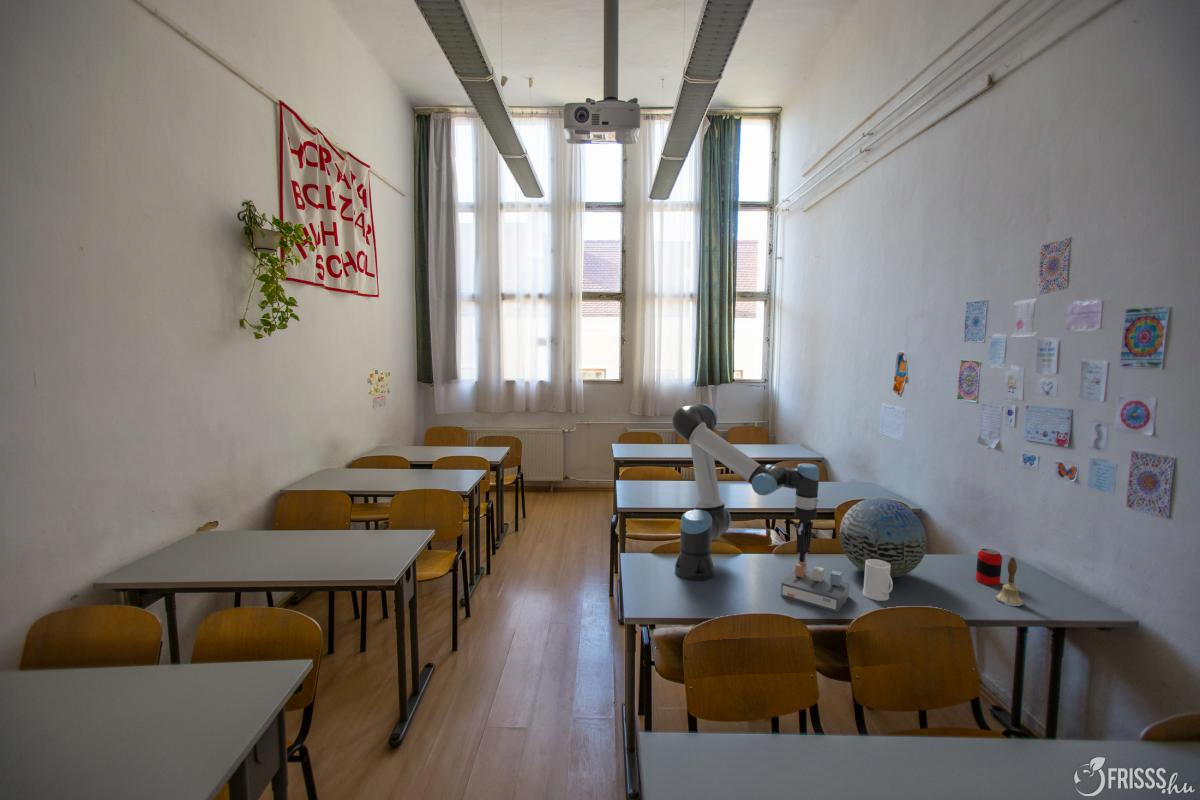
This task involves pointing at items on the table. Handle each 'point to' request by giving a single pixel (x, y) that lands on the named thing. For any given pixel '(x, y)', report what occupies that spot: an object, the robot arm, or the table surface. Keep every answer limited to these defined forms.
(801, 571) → the slider terracotta
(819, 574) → the slider ivory
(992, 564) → the soda can
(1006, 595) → the hand bell
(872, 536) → the decorative globe
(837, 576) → the block
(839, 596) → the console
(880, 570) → the mug
